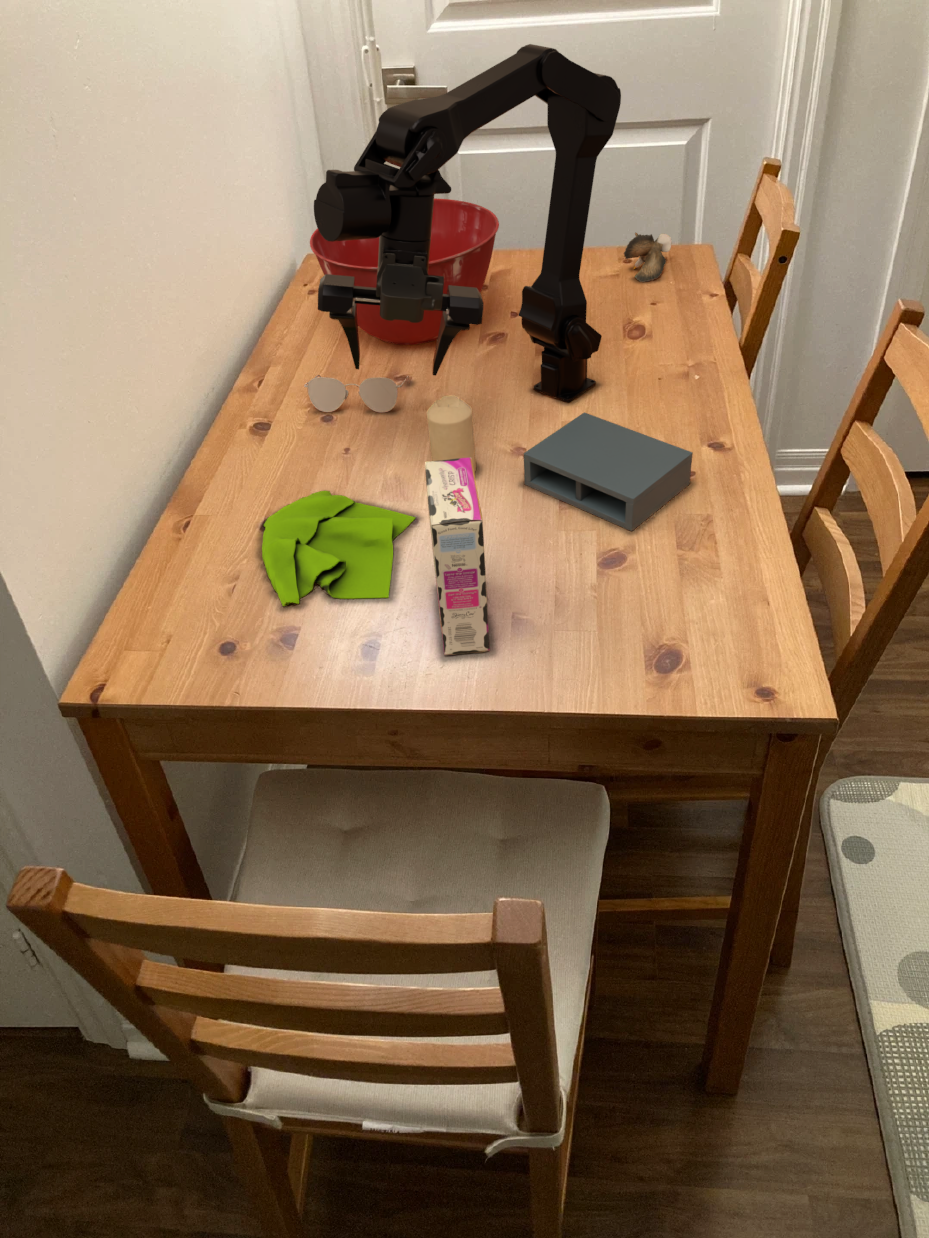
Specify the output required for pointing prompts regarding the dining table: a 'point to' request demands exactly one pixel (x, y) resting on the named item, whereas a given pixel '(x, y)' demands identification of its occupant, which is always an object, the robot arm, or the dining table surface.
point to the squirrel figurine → (648, 255)
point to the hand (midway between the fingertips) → (396, 371)
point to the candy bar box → (458, 555)
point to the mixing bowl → (453, 254)
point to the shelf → (608, 470)
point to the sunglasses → (333, 392)
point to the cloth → (331, 547)
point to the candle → (451, 429)
